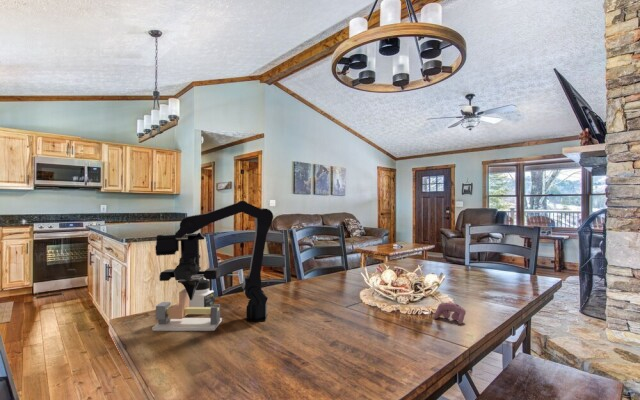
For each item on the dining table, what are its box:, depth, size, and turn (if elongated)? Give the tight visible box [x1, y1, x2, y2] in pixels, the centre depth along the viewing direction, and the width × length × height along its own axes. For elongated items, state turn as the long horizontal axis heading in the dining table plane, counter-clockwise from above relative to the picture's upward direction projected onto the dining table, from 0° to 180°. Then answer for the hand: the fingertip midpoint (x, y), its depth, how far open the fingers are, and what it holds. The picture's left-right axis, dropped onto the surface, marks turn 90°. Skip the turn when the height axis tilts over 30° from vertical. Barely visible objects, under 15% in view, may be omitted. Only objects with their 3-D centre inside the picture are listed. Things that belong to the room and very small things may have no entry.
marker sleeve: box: [170, 288, 189, 319], centre depth 112 cm, size 4×6×9 cm, turn 1°
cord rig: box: [151, 301, 223, 332], centre depth 112 cm, size 20×9×7 cm, turn 91°
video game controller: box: [434, 301, 466, 325], centre depth 119 cm, size 10×5×7 cm, turn 48°
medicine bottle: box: [189, 278, 215, 307], centre depth 127 cm, size 7×7×12 cm
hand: (191, 299), depth 112 cm, fingers closed
